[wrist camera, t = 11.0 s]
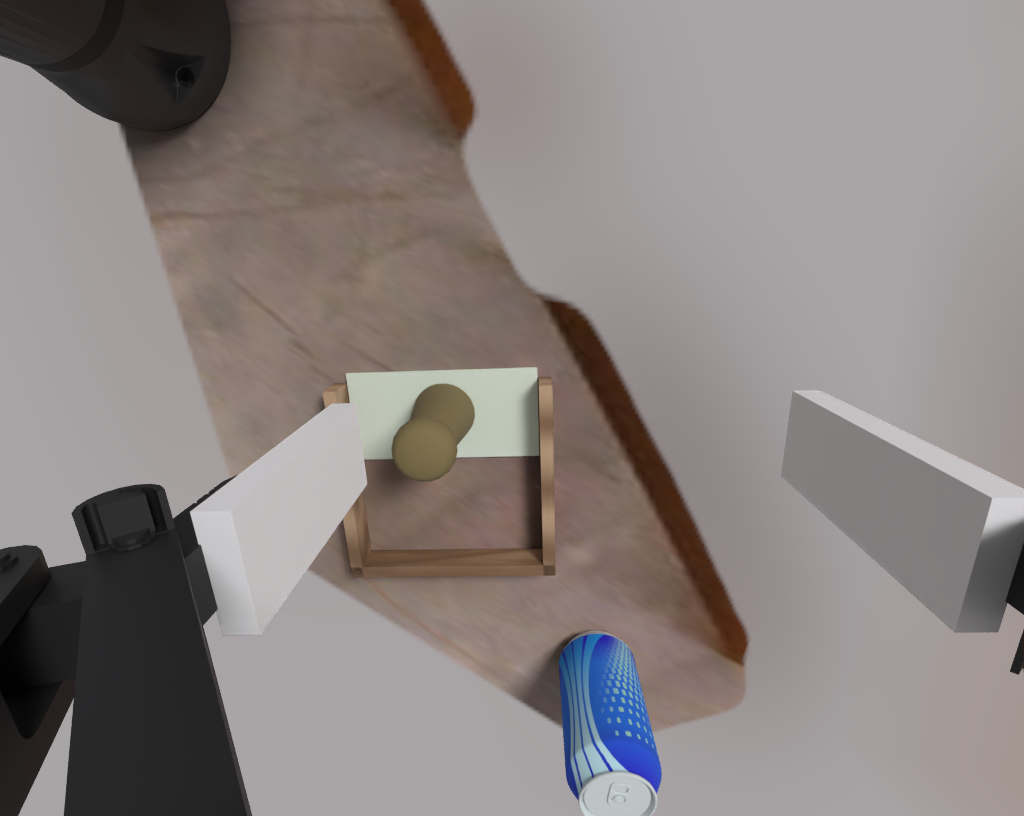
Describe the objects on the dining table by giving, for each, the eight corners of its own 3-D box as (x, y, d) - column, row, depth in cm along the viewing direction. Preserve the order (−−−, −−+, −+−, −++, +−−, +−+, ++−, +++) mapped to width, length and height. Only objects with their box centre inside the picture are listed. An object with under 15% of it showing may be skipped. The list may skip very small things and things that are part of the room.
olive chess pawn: (411, 437, 49) (379, 488, 39) (415, 379, 47) (382, 415, 37) (471, 445, 49) (455, 498, 39) (478, 387, 47) (462, 426, 37)
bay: (334, 383, 48) (322, 391, 45) (550, 377, 47) (552, 385, 44) (361, 560, 54) (352, 577, 51) (554, 557, 53) (555, 575, 50)
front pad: (346, 373, 48) (345, 373, 47) (537, 367, 47) (537, 367, 47) (358, 458, 50) (358, 459, 50) (539, 454, 50) (539, 455, 49)
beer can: (646, 657, 57) (689, 806, 41) (591, 694, 59) (612, 850, 43) (598, 611, 55) (624, 750, 40) (543, 652, 57) (547, 798, 42)
